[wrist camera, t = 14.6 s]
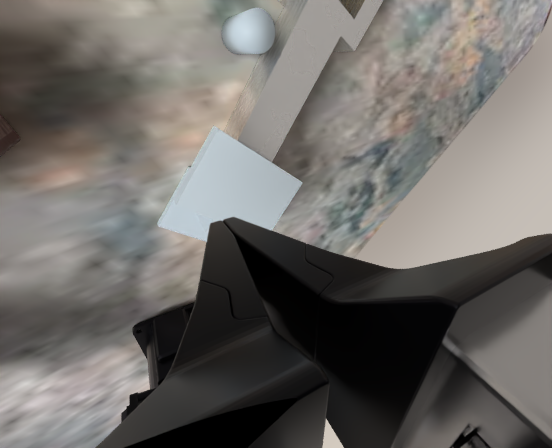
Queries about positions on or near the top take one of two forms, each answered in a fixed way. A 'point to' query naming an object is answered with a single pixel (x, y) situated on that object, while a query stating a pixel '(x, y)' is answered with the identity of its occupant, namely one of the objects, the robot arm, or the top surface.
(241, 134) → the link
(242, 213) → the pair of pale-grey parts
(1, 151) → the box
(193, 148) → the top surface
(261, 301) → the robot arm
